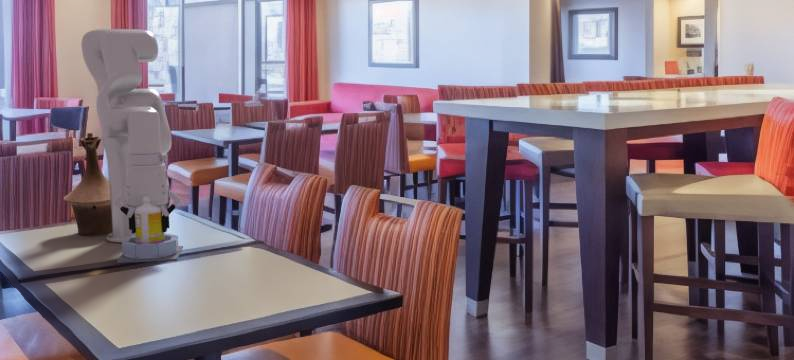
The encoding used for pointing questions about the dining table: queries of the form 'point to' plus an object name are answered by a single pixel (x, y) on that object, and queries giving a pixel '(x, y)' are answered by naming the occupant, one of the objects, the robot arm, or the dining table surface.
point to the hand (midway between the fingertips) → (149, 231)
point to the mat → (170, 258)
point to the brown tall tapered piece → (92, 195)
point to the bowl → (150, 248)
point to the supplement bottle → (148, 223)
